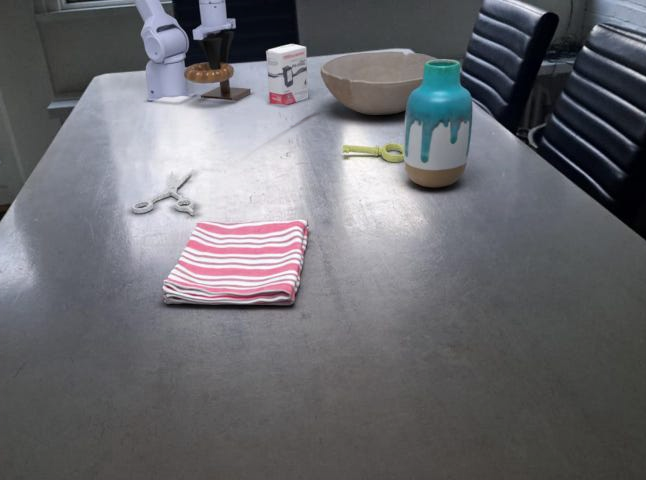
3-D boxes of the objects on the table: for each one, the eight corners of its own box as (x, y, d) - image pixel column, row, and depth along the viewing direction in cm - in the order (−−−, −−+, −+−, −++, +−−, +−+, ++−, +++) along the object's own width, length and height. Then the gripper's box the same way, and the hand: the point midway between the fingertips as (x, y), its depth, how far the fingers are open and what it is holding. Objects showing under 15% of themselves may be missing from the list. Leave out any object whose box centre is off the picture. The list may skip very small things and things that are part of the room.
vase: (426, 168, 121) (434, 52, 110) (478, 182, 115) (492, 60, 104) (388, 186, 115) (392, 65, 104) (441, 201, 109) (451, 74, 98)
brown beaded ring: (175, 82, 154) (173, 70, 153) (202, 71, 162) (201, 59, 161) (216, 86, 150) (215, 73, 148) (243, 74, 158) (242, 62, 156)
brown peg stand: (200, 100, 168) (197, 75, 165) (220, 91, 174) (217, 67, 171) (232, 103, 164) (229, 78, 161) (250, 93, 171) (248, 69, 167)
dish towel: (160, 309, 86) (155, 284, 84) (200, 230, 105) (197, 209, 103) (295, 311, 84) (294, 286, 82) (311, 230, 103) (310, 208, 101)
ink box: (283, 106, 159) (280, 52, 152) (268, 103, 162) (265, 49, 156) (309, 98, 164) (307, 45, 157) (294, 95, 167) (292, 43, 160)
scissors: (128, 213, 109) (154, 168, 126) (128, 217, 110) (154, 172, 126) (193, 211, 109) (211, 166, 125) (194, 215, 109) (211, 170, 125)
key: (339, 155, 129) (339, 144, 128) (401, 148, 131) (401, 137, 130) (349, 168, 123) (349, 156, 122) (414, 160, 125) (415, 149, 124)
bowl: (463, 105, 153) (467, 57, 147) (398, 137, 137) (400, 84, 131) (366, 90, 167) (366, 46, 161) (297, 118, 151) (295, 70, 145)
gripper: (209, 8, 144) (216, 76, 152) (244, -3, 154) (249, 61, 162) (181, 7, 147) (190, 74, 154) (218, -4, 157) (224, 60, 165)
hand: (218, 67), depth 158 cm, fingers closed on brown beaded ring, 3 cm apart
